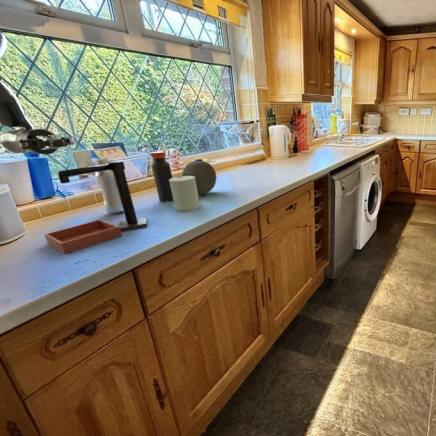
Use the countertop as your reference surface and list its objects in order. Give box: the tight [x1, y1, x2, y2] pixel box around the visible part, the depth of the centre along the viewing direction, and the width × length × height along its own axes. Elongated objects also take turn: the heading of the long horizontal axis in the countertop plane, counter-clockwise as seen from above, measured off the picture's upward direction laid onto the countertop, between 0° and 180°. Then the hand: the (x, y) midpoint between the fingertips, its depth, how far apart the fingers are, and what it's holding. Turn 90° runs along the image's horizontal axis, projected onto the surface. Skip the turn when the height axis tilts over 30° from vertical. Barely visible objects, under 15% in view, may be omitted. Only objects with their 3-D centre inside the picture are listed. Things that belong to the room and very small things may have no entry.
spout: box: [57, 160, 126, 184], centre depth 88 cm, size 16×4×4 cm, turn 147°
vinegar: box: [150, 151, 174, 202], centre depth 126 cm, size 7×7×20 cm
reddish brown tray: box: [44, 219, 123, 255], centre depth 89 cm, size 14×13×3 cm
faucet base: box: [113, 170, 148, 232], centre depth 97 cm, size 8×7×19 cm
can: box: [169, 175, 201, 212], centre depth 116 cm, size 9×9×12 cm
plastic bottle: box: [94, 158, 124, 214], centre depth 111 cm, size 6×7×20 cm
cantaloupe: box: [181, 160, 217, 196], centre depth 133 cm, size 14×14×15 cm
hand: (59, 143), depth 84 cm, fingers closed
